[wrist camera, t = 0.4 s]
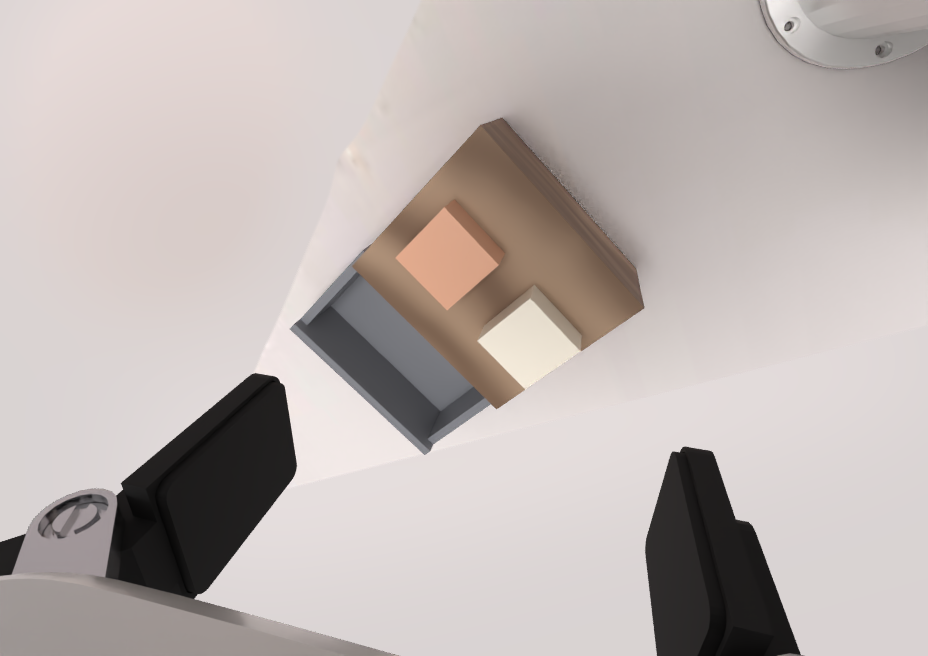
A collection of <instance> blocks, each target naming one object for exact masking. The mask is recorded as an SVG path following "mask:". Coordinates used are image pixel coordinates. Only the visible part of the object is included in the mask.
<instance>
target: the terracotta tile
mask: <svg viewBox="0 0 928 656" xmlns="http://www.w3.org/2000/svg"><path fill="white" fill-rule="evenodd" d="M504 255H505V253H504V252H503V251H502V249H501V248H500V247H499V246H498V245H497V244H496V243H495V242H494V241H493V240H492V239H491V238H490V237H489V236H488V235H487V233H486V232H485V231H484V230H483V229H482V228H481V227H480V226H479V225H478V224H477V223H476V222H475V221H474V220H473V219H472V217H471V216H470V215H469V214H468V213H467V212H466V211H465V210H464V209H463V208H462V207H461V206H460V205H459V204H458V203H457V201H456V200H455V199H454V200H453V201H452V202H450V203H449V204H448V205H446V206H445V207H444V208H443V209H442V210H441V211H440V212H439V213H438V214H437V215H436V216H435V217H434V218H433V219H432V220H431V221H430V222H429V224H428V225H427V226H426V227H425V228H424V229H423V230H422V231H421V232H420V233H419V234H418V235H417V236H416V237H415V238H414V239H413V240H412V241H411V242H410V243H409V244H408V245H407V246H406V247H405V248H404V249H403V250H402V251H401V252H400V253H399V254H398V256H397V257H396V259H397V260H398V261H399V262H400V263H401V264H402V265H403V266H404V267H405V268H406V269H407V270H408V271H409V272H410V273H411V274H412V275H413V276H414V278H415V279H416V280H417V281H418V282H419V283H420V284H421V285H422V286H423V287H424V288H425V289H426V290H427V291H428V292H429V293H430V294H431V295H432V296H433V297H434V298H435V299H436V300H437V301H438V302H439V303H440V304H441V305H442V306H443V307H444V308H445V309H446V310H448V309H449V308H451V307H452V306H453V305H454V304H455V303H456V302H457V301H459V300H460V299H461V298H462V297H463V296H464V295H465V294H466V293H468V292H469V291H470V290H471V289H472V288H473V287H474V286H476V285H477V284H478V283H479V282H480V281H481V280H482V279H484V278H485V277H486V276H487V275H488V274H489V273H490V272H492V271H493V270H494V269H495V268H496V267H497V266H498V265H499V264H500V262H501V260H502V258H503V257H504Z"/></svg>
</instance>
